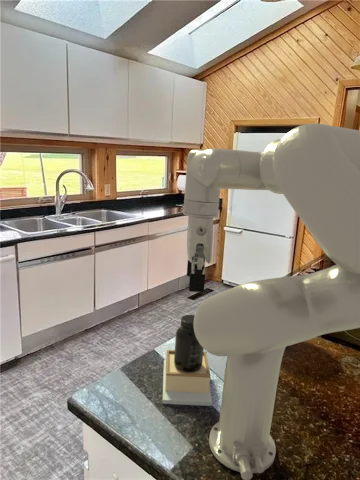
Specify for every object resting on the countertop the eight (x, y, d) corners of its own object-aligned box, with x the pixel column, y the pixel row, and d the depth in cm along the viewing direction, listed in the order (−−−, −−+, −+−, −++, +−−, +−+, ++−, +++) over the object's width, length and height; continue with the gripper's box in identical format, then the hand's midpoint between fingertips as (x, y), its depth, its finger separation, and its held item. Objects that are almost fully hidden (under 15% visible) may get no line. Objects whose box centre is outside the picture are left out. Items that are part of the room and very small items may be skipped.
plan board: (211, 405, 78) (214, 383, 77) (162, 403, 78) (164, 381, 77) (204, 364, 94) (206, 345, 93) (163, 362, 93) (165, 343, 92)
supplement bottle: (202, 359, 87) (207, 314, 85) (201, 375, 81) (206, 327, 78) (175, 355, 88) (178, 311, 85) (171, 371, 81) (175, 323, 79)
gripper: (224, 216, 68) (215, 299, 72) (213, 204, 85) (207, 272, 89) (185, 213, 68) (179, 296, 71) (182, 202, 84) (177, 270, 88)
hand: (194, 283), depth 80 cm, fingers open, 9 cm apart
